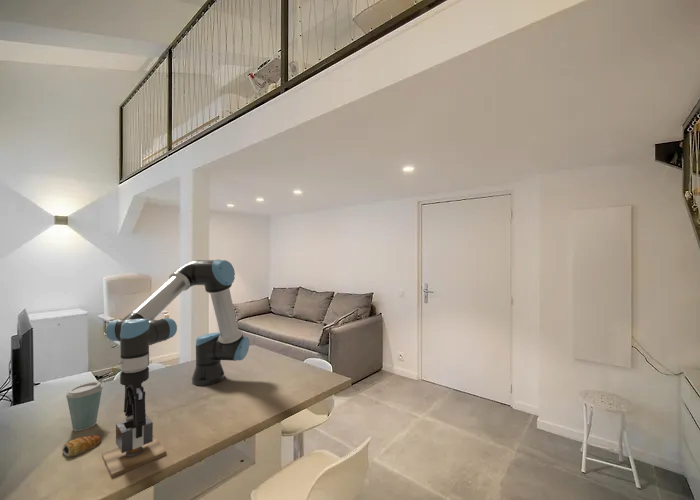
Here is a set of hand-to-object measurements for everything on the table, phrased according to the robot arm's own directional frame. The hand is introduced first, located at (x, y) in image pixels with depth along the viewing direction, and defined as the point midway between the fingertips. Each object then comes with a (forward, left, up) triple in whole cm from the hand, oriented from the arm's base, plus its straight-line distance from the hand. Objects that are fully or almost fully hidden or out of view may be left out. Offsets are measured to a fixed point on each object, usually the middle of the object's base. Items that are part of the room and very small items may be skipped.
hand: (134, 441), depth 98 cm
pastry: (-18, -11, -5) cm, 22 cm away
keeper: (0, 0, -4) cm, 4 cm away
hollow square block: (0, 0, 0) cm, 0 cm away
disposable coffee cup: (-35, -8, -5) cm, 36 cm away
